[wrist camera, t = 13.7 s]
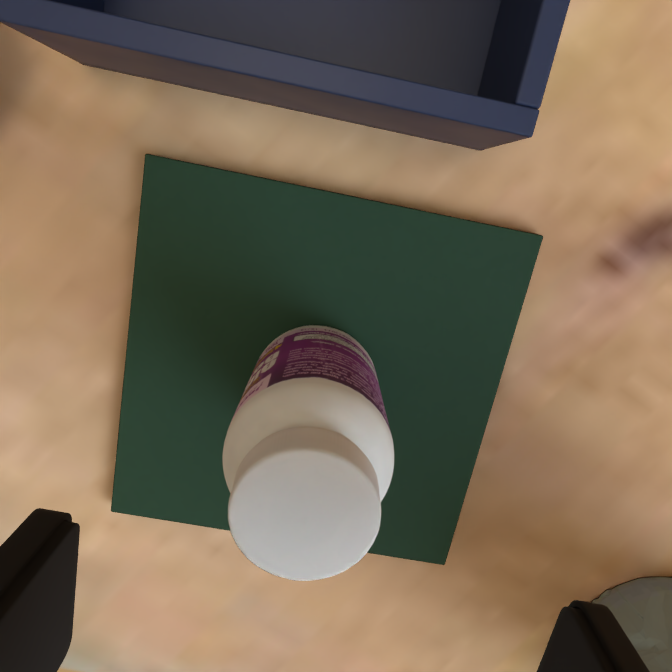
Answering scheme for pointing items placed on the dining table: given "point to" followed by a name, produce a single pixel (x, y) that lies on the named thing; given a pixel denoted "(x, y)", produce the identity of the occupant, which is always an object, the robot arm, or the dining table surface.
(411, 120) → the basket
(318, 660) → the dining table surface
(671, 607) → the gray cup
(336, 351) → the pill bottle
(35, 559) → the robot arm
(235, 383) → the mat
